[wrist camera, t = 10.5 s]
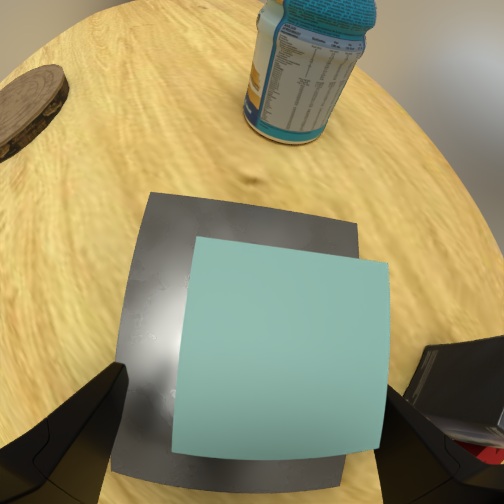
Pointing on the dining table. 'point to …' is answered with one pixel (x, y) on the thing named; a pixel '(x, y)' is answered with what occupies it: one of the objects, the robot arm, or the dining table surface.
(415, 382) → the small box
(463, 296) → the dining table surface
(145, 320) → the square-hole plate
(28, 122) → the wood slice
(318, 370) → the teal peg
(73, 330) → the dining table surface
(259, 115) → the beverage bottle
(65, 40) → the dining table surface
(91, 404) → the robot arm
